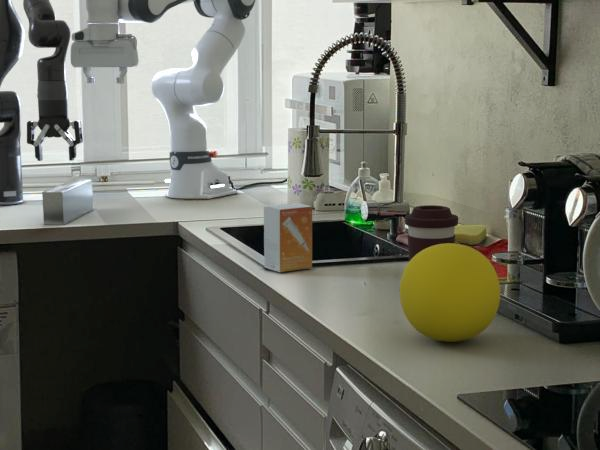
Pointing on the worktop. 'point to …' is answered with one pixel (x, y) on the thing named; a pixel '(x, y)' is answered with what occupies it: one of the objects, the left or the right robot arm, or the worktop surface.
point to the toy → (450, 292)
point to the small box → (288, 237)
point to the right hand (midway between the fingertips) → (105, 83)
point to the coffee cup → (429, 227)
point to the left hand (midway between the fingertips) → (55, 160)
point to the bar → (67, 201)
